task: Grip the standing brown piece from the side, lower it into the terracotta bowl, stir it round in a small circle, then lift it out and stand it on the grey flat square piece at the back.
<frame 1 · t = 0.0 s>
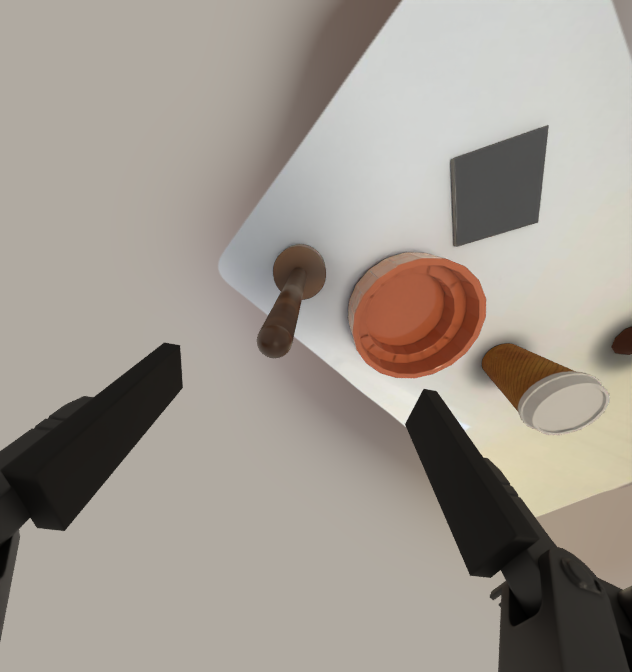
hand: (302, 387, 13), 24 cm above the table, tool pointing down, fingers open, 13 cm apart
grey flat square piece: (493, 192, 29), on the table
ice cream bowl: (629, 338, 37), on the table
brown piece: (300, 270, 33), on the table
disposable coffee cup: (500, 358, 39), on the table
mixing bowl: (401, 308, 35), on the table
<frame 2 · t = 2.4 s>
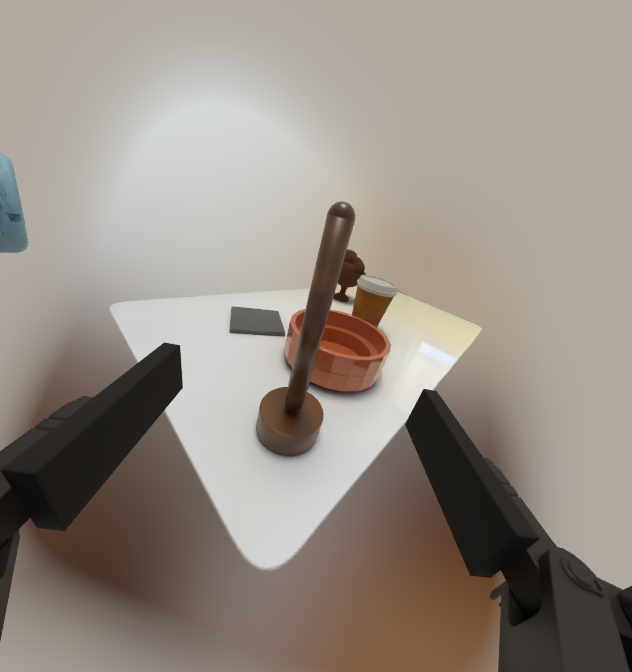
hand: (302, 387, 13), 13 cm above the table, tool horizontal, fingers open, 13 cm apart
grey flat square piece: (256, 322, 47), on the table
ice cream bowl: (340, 299, 75), on the table
brown piece: (287, 427, 26), on the table
disposable coffee cup: (361, 327, 58), on the table
mixing bowl: (330, 361, 40), on the table
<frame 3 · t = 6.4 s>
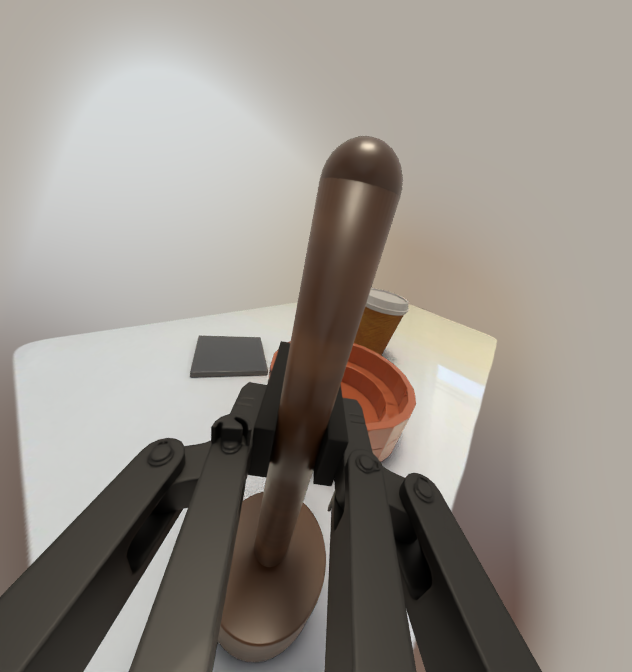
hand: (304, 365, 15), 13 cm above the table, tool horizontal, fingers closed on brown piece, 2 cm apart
grey flat square piece: (230, 356, 36), on the table
brown piece: (264, 572, 15), on the table, touching gripper
disposable coffee cup: (365, 351, 47), on the table
mixing bowl: (330, 411, 30), on the table
when the fingers open (14 cm above the table, at t = 22.0 s): brown piece stays where it is, resting on grey flat square piece.
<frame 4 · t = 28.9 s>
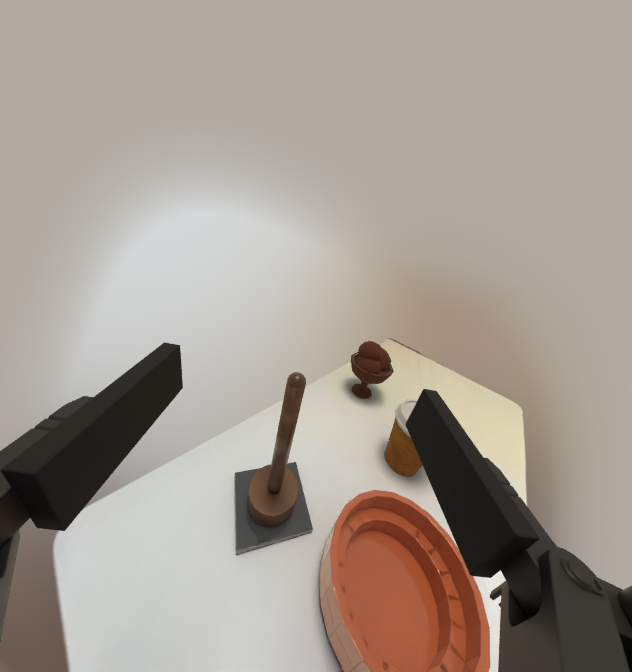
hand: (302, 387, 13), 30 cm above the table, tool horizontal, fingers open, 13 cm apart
grey flat square piece: (270, 502, 34), on the table
ice cream bowl: (361, 392, 63), on the table
brown piece: (271, 499, 34), point 1 cm above the table, touching grey flat square piece
disposable coffee cup: (400, 461, 46), on the table
mixing bowl: (384, 593, 28), on the table
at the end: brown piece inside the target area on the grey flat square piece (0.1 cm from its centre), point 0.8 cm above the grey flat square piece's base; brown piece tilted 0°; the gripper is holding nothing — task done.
